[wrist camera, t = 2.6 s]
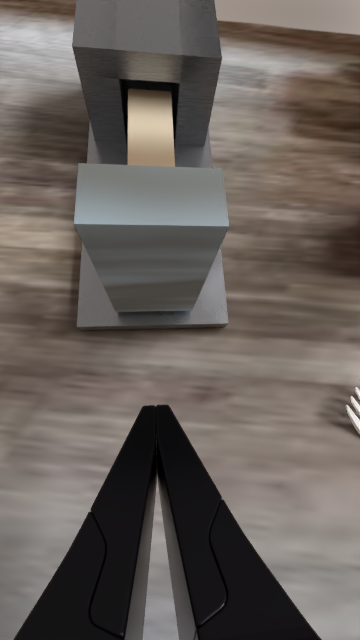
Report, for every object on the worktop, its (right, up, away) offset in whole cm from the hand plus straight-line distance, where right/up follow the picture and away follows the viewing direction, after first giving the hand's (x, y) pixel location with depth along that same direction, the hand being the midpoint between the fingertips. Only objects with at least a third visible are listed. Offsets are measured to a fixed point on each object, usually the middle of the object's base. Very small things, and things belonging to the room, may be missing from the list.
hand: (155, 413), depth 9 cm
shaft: (-1, +11, +11) cm, 15 cm away
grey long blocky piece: (-2, +14, +13) cm, 19 cm away
